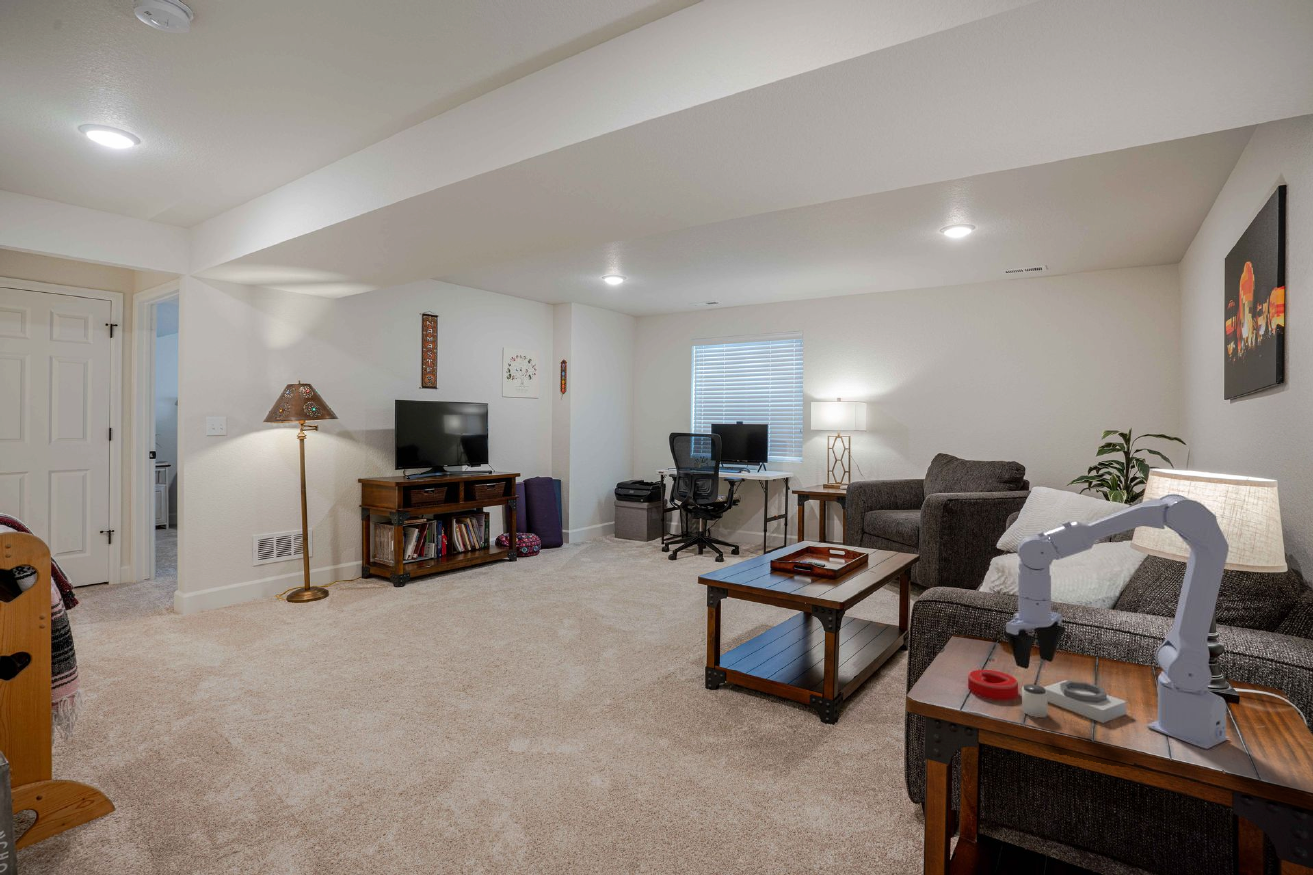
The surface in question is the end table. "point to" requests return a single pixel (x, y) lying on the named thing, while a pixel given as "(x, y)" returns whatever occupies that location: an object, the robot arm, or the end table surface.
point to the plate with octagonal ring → (1085, 700)
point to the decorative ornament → (993, 684)
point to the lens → (1034, 700)
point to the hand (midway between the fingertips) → (1034, 663)
